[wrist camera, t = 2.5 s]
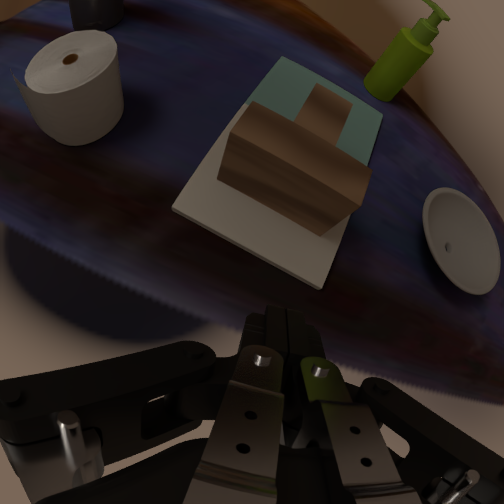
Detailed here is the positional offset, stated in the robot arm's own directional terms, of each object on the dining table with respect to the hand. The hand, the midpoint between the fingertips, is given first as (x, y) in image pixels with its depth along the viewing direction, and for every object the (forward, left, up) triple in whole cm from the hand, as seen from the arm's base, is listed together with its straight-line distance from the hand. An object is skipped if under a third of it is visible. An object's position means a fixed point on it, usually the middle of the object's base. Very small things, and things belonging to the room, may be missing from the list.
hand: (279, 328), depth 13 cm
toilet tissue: (-27, -17, -20) cm, 37 cm away
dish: (-9, +33, -20) cm, 39 cm away
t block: (-18, +9, -19) cm, 27 cm away
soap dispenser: (-38, +28, -20) cm, 51 cm away
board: (-22, +11, -20) cm, 31 cm away
